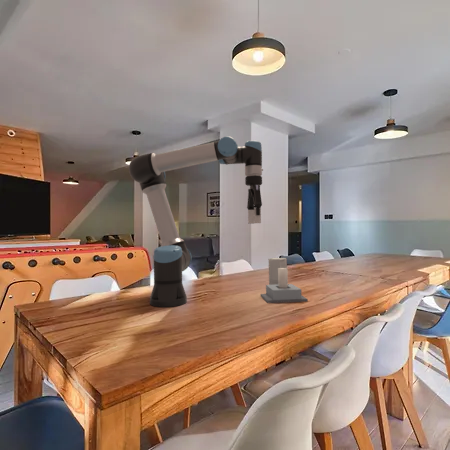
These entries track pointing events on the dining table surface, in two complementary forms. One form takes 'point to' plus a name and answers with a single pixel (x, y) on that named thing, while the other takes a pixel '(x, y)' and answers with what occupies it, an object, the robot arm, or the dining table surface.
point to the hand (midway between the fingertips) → (254, 223)
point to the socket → (283, 294)
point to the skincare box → (275, 269)
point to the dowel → (282, 278)
